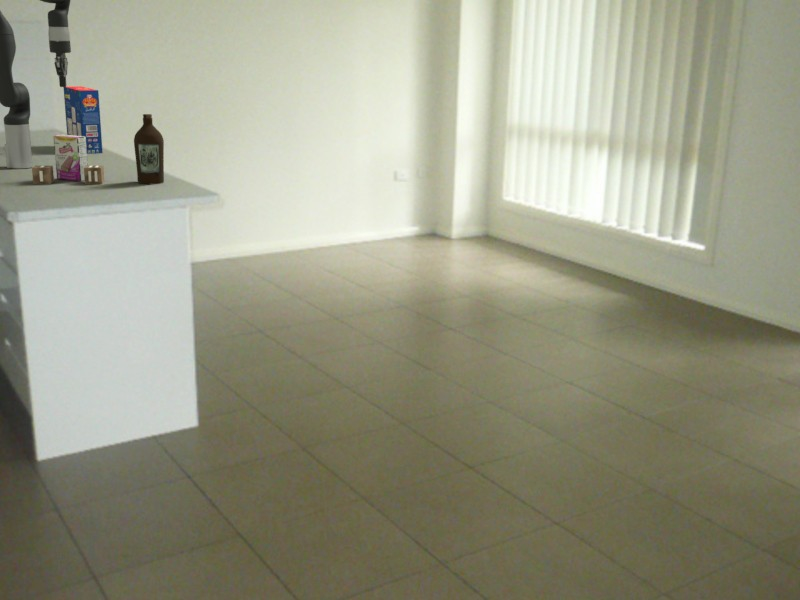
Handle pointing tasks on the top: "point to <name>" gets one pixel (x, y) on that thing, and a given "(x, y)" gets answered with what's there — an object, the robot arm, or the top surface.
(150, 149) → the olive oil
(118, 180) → the top surface
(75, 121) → the pasta box
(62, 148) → the candy bar box
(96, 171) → the walnut block two
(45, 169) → the walnut block one
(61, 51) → the robot arm
